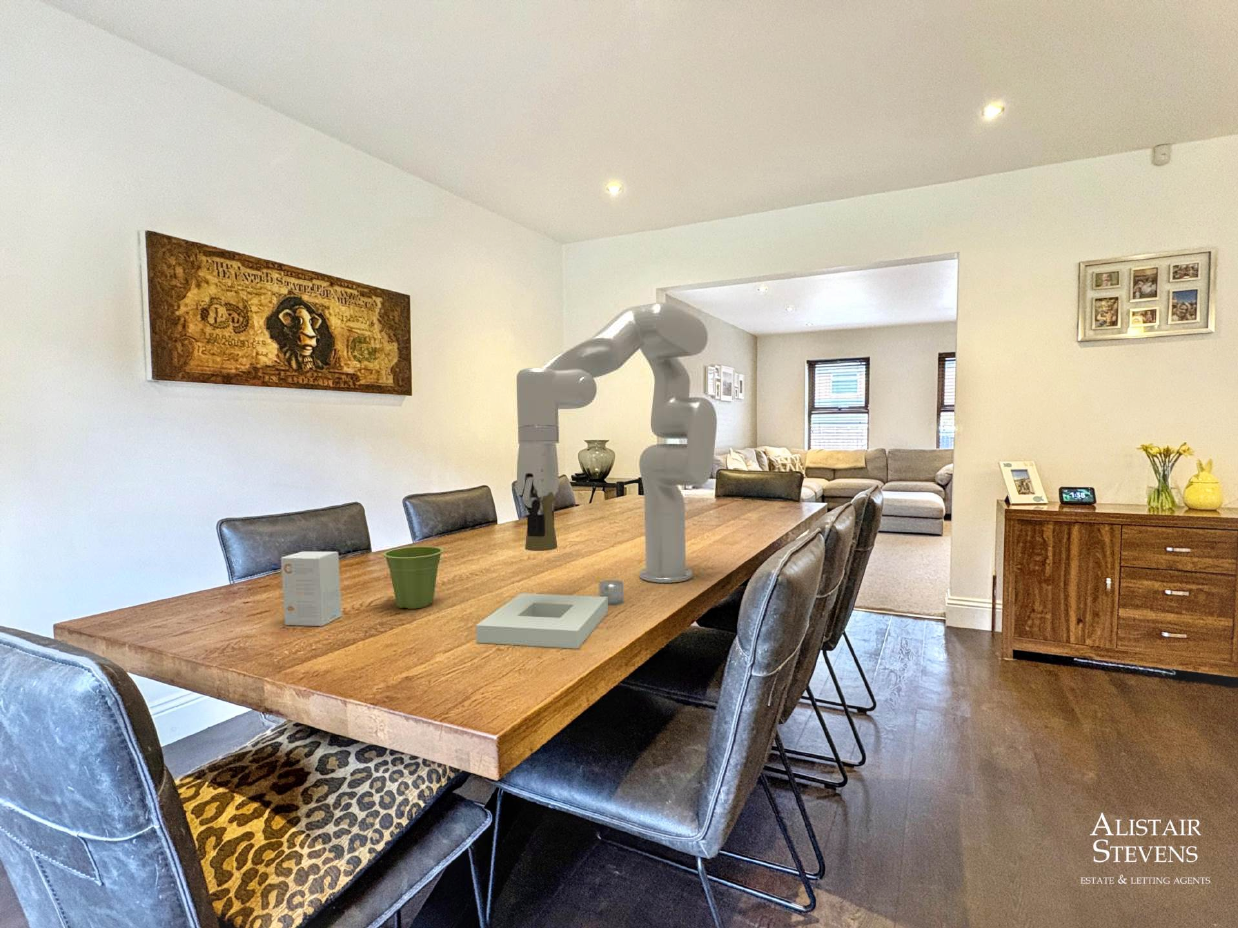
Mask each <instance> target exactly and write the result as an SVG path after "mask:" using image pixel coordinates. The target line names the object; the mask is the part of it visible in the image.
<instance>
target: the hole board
mask: <svg viewBox="0 0 1238 928" xmlns="http://www.w3.org/2000/svg"><path fill="white" fill-rule="evenodd" d="M608 606H609V605H608V597H599V595H598V596H595V595H594V596H593V595H592V596H591V595H589V596H588V595H572V594H571V595H568V594H546V593H523V592H522V593H519V594H518V595H517V596H515V597H514V598H512V599H511V600H509V601H508V602H506V603H505V604H504V605H503V606H501V607H499V608H498V609H496V610H495V611H493V612H492V613H491V614H489V615H488V616H486V617H485V618H484V619H482V620H481V621H480V622H478V623H477V624H475V636H476V643H479V644H496V645H509V646H511V645H512V646H529V647H539V648H540V647H544V648H557V649H558V648H559V649H563V648H564V649H574V650H576V649H577V650H579V648H580V647H581V646H582V645H583V643H584V642H585V641H586V640H587V639H588V637H589V636H590V635H591V634H592V632H594V630H595V629H596V627H597V626H598V625H599V624H600V622H602V620H603V618H605V617H606V615H607V614H608V613H609V607H608Z"/></svg>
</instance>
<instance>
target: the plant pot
mask: <svg viewBox="0 0 1238 928" xmlns="http://www.w3.org/2000/svg"><path fill="white" fill-rule="evenodd" d="M442 553H444V549H443V547H439V546H430V545H429V546H428V545H419V546H418V545H415V546H405V547H399V548H394V549H390V550H387V551H384V552H383V553H382V555H383V557H384V558H385V560H386V565H387V567H388V568H389V572H390V578H391V579H390V580H391V583H392V588H393V594H394V597H395V602H396V606H397V607H398V608H400V609H403V608H407V609H410V610H415V609H423V608H425V607H428V606H429V605H432V604H433V603H434V598H435V591H436V585H437V583H436V582H437V575H438V570H439V569H438V568H439V564H440V560H441V556H442V555H441V554H442Z"/></svg>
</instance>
